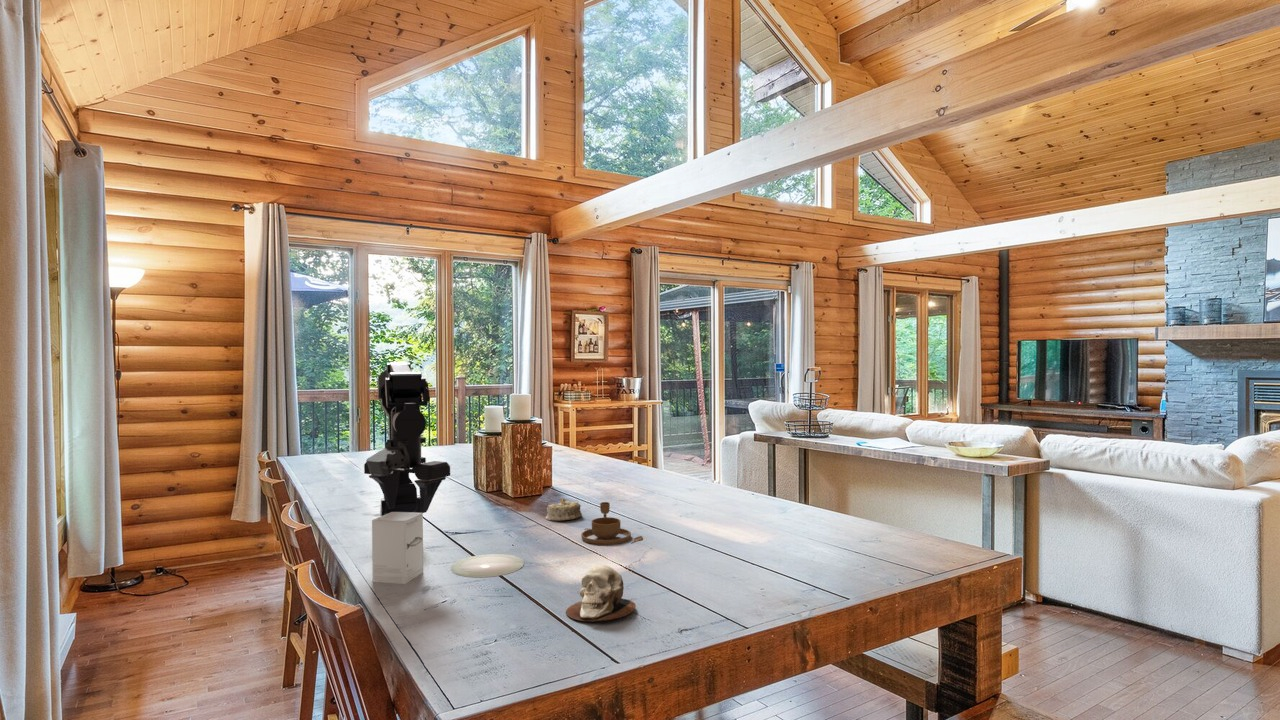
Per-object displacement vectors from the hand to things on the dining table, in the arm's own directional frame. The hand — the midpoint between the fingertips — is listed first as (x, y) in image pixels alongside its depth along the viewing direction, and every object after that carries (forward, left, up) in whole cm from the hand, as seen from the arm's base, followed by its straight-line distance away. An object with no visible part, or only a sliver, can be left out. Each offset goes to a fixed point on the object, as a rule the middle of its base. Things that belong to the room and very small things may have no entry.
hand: (407, 510), depth 142 cm
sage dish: (+11, +12, -13) cm, 21 cm away
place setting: (+21, +46, -14) cm, 52 cm away
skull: (+49, +1, -15) cm, 52 cm away
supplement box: (0, -2, -13) cm, 14 cm away
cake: (0, +55, -14) cm, 56 cm away
